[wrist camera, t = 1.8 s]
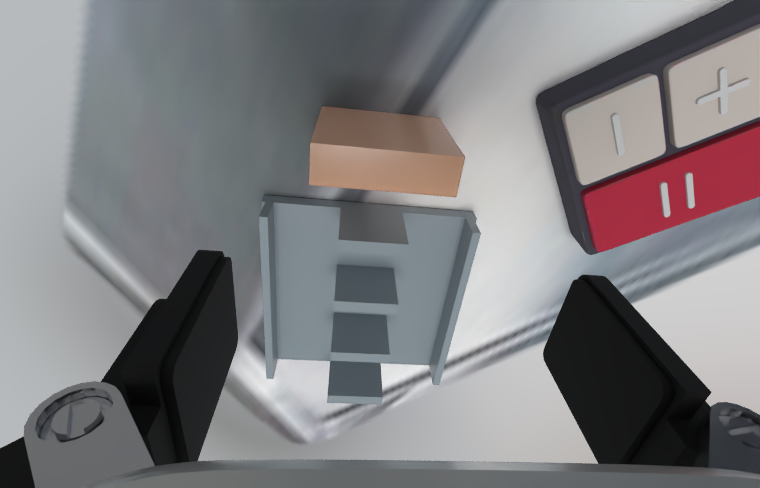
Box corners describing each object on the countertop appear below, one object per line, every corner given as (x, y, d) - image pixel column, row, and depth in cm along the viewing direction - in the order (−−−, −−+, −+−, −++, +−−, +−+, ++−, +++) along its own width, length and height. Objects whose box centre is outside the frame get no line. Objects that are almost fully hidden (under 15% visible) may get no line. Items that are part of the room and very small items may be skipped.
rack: (264, 195, 27) (246, 233, 22) (473, 211, 28) (493, 250, 24) (270, 349, 34) (257, 400, 30) (436, 356, 35) (446, 406, 31)
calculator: (553, 110, 21) (897, -42, 18) (528, 92, 25) (809, -38, 21) (592, 264, 27) (862, 170, 23) (566, 230, 30) (797, 145, 27)
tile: (322, 105, 24) (310, 142, 18) (439, 117, 25) (465, 157, 19) (320, 139, 25) (309, 185, 19) (433, 150, 26) (456, 197, 20)
